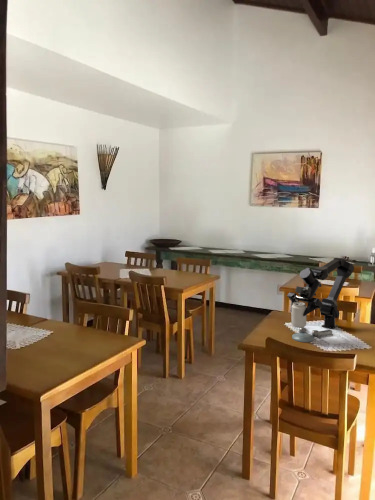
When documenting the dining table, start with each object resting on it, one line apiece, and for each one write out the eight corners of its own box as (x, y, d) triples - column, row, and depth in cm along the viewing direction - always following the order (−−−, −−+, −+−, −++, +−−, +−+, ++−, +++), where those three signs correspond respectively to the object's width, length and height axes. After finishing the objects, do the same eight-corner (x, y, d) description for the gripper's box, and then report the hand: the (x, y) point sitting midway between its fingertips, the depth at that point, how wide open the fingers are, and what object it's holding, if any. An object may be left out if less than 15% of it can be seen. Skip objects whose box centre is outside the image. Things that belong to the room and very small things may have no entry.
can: (292, 322, 216) (292, 300, 214) (307, 324, 213) (307, 301, 211) (290, 327, 209) (290, 304, 207) (305, 329, 206) (305, 306, 204)
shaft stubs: (299, 326, 228) (299, 321, 228) (333, 334, 216) (333, 328, 215) (290, 331, 221) (290, 326, 220) (324, 339, 208) (324, 334, 208)
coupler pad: (298, 333, 218) (298, 331, 218) (317, 337, 211) (317, 335, 211) (288, 338, 210) (288, 337, 210) (308, 344, 203) (308, 342, 203)
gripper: (289, 277, 217) (275, 301, 212) (319, 283, 202) (305, 309, 197) (298, 289, 223) (285, 313, 218) (328, 295, 208) (315, 321, 203)
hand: (297, 313), depth 209 cm, fingers closed on can, 7 cm apart
